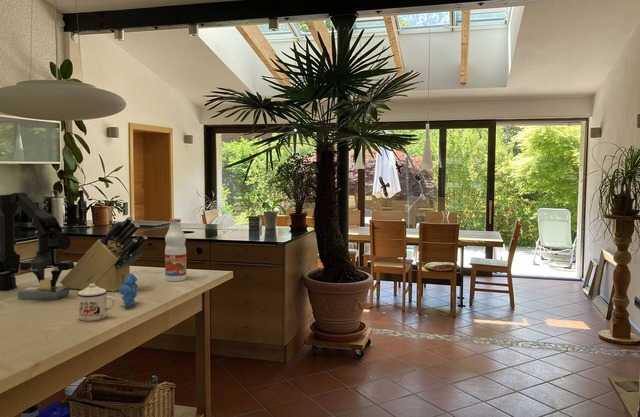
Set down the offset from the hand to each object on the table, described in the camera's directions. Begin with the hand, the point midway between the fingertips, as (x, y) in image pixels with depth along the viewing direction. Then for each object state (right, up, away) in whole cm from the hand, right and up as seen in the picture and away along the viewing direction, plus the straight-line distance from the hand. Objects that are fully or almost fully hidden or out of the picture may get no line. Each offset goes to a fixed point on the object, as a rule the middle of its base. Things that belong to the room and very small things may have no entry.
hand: (48, 286), depth 202 cm
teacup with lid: (+31, -7, -27) cm, 42 cm away
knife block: (+17, -3, +15) cm, 22 cm away
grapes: (+36, -5, -12) cm, 38 cm away
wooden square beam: (0, -4, 0) cm, 4 cm away
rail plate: (-2, -4, 0) cm, 4 cm away
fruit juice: (+41, -2, +33) cm, 53 cm away
